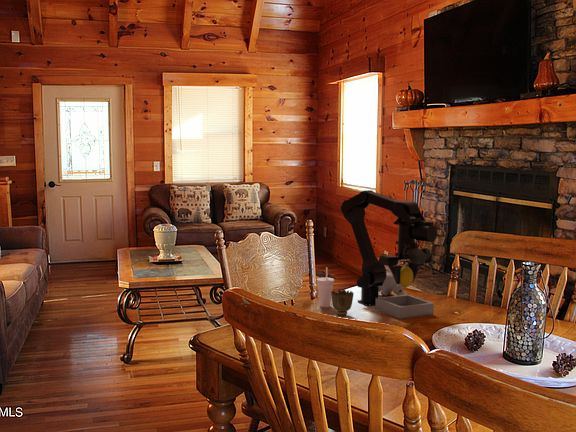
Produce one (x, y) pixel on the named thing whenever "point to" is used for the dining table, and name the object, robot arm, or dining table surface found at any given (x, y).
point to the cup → (342, 301)
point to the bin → (404, 306)
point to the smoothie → (325, 290)
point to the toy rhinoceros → (391, 286)
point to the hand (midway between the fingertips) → (404, 283)
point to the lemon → (406, 277)
